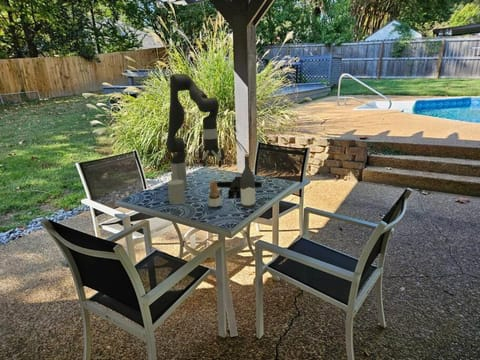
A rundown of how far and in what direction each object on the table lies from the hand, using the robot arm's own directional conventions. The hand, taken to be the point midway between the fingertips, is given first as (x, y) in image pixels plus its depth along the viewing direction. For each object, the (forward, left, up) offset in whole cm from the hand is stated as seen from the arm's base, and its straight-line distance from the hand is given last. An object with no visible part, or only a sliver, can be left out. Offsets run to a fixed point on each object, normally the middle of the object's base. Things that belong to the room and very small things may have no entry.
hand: (212, 166), depth 171 cm
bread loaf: (0, 0, -21) cm, 21 cm away
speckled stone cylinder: (-25, +5, -24) cm, 35 cm away
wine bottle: (+18, +6, -24) cm, 31 cm away
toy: (+6, +30, -25) cm, 39 cm away
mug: (0, +3, -24) cm, 24 cm away
